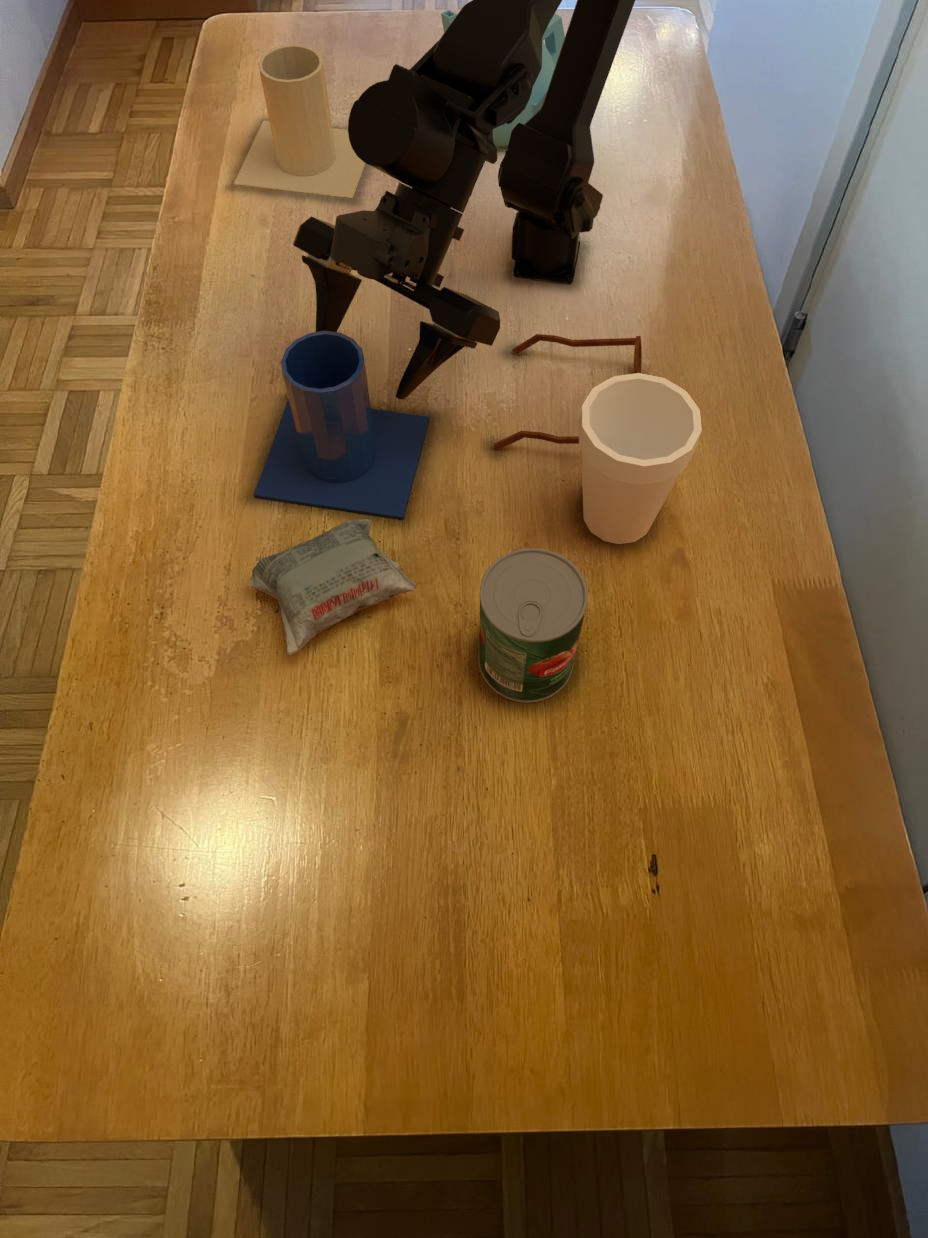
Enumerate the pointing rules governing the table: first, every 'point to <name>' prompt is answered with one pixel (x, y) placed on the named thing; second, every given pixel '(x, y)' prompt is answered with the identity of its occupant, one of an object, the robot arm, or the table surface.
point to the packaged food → (328, 580)
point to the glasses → (571, 343)
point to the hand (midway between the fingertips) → (358, 374)
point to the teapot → (549, 59)
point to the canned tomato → (530, 623)
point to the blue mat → (368, 494)
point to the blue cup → (330, 405)
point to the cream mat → (333, 181)
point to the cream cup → (298, 109)
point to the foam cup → (633, 452)
